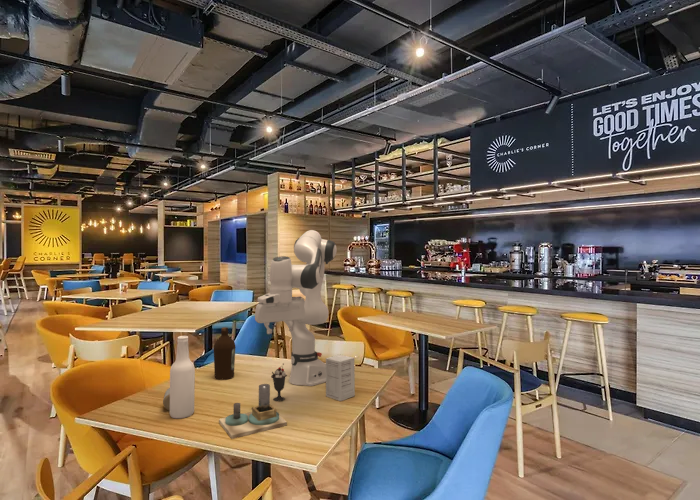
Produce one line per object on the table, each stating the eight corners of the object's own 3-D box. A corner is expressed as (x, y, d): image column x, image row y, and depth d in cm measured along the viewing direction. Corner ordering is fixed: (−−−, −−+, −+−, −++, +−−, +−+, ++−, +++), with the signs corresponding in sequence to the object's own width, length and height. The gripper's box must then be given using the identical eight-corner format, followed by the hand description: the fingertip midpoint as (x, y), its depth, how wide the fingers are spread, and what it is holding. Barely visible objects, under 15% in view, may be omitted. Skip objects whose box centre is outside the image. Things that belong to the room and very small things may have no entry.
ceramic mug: (162, 412, 154) (162, 393, 154) (164, 405, 162) (165, 386, 162) (191, 409, 158) (191, 390, 158) (192, 402, 165) (192, 384, 165)
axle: (267, 412, 148) (267, 383, 148) (271, 416, 145) (271, 386, 145) (256, 414, 146) (257, 385, 146) (260, 418, 143) (261, 388, 143)
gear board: (270, 410, 156) (270, 392, 156) (286, 425, 143) (286, 404, 143) (218, 422, 145) (218, 402, 145) (231, 439, 132) (231, 416, 132)
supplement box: (355, 396, 173) (355, 357, 173) (340, 401, 166) (340, 361, 166) (339, 391, 179) (339, 353, 180) (325, 396, 173) (325, 357, 173)
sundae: (289, 397, 171) (289, 362, 171) (282, 402, 165) (282, 366, 165) (276, 395, 173) (276, 361, 173) (268, 401, 167) (268, 365, 167)
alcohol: (178, 421, 146) (179, 339, 147) (164, 416, 151) (165, 337, 151) (199, 413, 154) (199, 335, 154) (185, 408, 158) (185, 333, 159)
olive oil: (212, 381, 193) (212, 330, 194) (214, 374, 204) (215, 326, 204) (234, 379, 196) (234, 329, 196) (235, 373, 206) (236, 325, 207)
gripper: (301, 295, 164) (301, 328, 164) (253, 298, 153) (253, 333, 153) (308, 296, 159) (307, 331, 159) (259, 299, 148) (259, 336, 148)
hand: (280, 332), depth 156 cm, fingers open, 8 cm apart
